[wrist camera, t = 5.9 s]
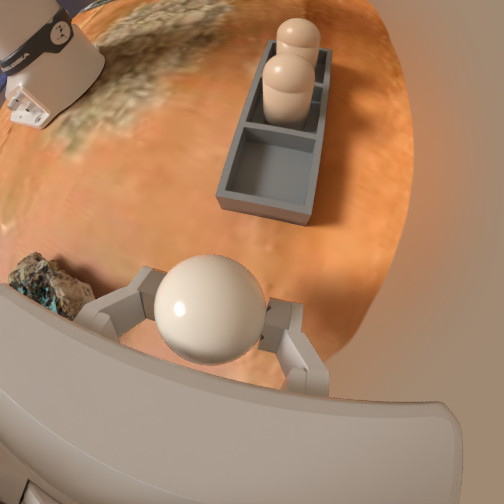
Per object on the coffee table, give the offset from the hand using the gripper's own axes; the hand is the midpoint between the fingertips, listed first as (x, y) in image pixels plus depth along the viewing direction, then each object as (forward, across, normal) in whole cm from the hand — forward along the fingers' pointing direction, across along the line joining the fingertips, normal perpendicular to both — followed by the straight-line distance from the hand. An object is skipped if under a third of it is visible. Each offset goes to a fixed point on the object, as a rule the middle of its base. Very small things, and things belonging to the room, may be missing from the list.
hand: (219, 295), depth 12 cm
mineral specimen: (+4, +18, +12) cm, 22 cm away
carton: (+20, 0, -5) cm, 21 cm away
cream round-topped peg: (+3, 0, +4) cm, 4 cm away
